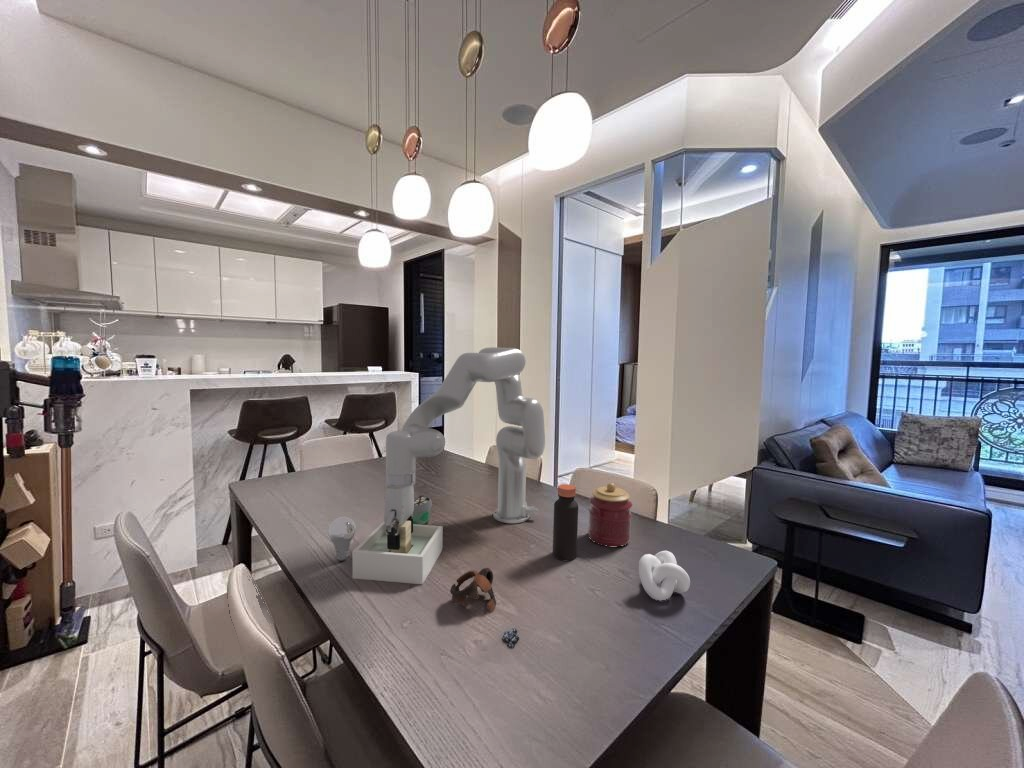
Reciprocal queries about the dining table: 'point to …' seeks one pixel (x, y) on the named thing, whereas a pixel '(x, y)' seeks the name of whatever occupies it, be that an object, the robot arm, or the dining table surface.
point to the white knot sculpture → (662, 575)
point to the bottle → (565, 523)
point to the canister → (610, 516)
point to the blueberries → (511, 637)
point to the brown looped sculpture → (474, 587)
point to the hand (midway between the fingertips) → (400, 540)
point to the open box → (397, 557)
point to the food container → (421, 510)
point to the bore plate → (416, 544)
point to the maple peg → (404, 538)
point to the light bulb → (342, 536)
